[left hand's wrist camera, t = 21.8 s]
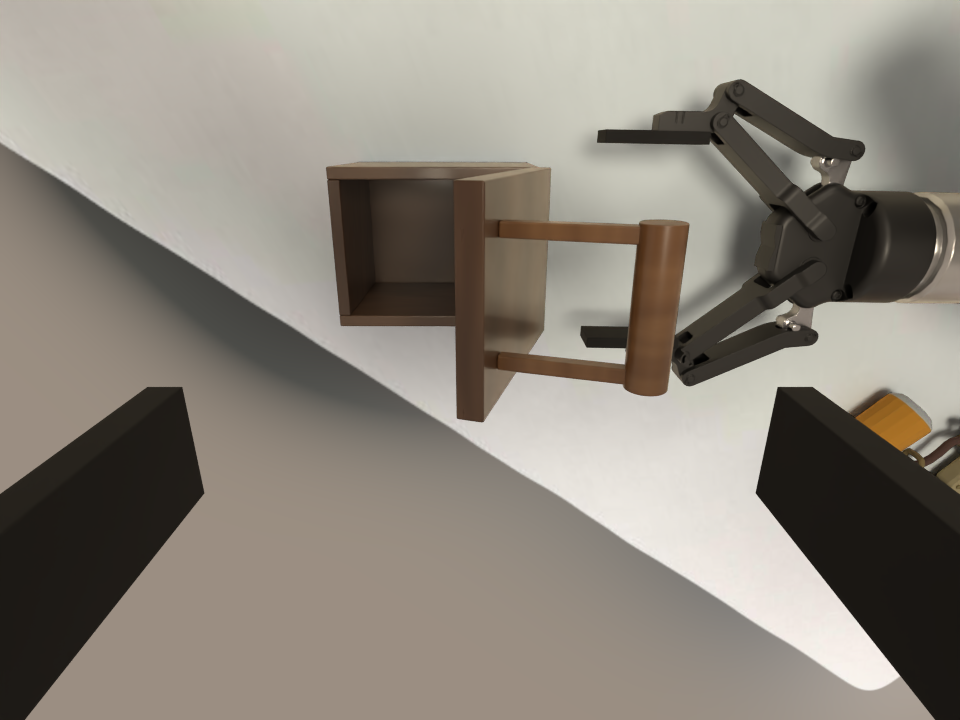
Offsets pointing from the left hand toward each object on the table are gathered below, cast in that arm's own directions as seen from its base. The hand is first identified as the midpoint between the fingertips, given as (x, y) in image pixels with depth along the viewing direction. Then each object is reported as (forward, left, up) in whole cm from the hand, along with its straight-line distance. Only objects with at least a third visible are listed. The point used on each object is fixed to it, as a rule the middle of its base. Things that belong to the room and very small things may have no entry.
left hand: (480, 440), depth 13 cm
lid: (+1, +1, -17) cm, 17 cm away
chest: (-2, -2, -34) cm, 35 cm away
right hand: (+6, +4, -28) cm, 29 cm away
